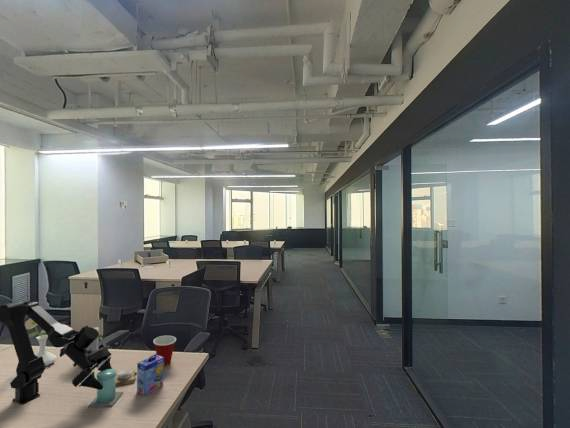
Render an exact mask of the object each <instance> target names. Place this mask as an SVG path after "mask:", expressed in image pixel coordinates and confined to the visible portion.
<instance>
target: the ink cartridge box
mask: <svg viewBox="0 0 570 428" xmlns="http://www.w3.org/2000/svg"><path fill="white" fill-rule="evenodd" d="M164 369H165V366H164V357H162V356H159V355H157V354H156V353H155V354H153V355H151V356H149V357H148V358H145V359H144V360H141V361H139V362H137V370H136V372H137V375H136V376H137V377H136V379H137V380H136V381H137V382H136V392H137V393H139V394H140V395H143V396H146V395H148V394H150V393H151V392H154V391H155V390H157V389H158V388H160V387H162V386H164V376H165V374H164V373H165V372H164V371H165V370H164Z"/></svg>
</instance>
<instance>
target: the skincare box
mask: <svg viewBox="0 0 570 428" xmlns="http://www.w3.org/2000/svg"><path fill="white" fill-rule="evenodd" d="M93 328H94V329H96V330H97V331H98V333H99V334H100V327H99V326H97V327H93ZM99 337H100V336H98V337H97V338H96V339H95V340H94V341H93V342H92V344H91V345H90V346H89V347H87V348H86V349H87V350H88V351H89V350H90V349H91V350H93V351H95V350H97V349H99Z"/></svg>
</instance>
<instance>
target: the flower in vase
mask: <svg viewBox="0 0 570 428" xmlns="http://www.w3.org/2000/svg"><path fill="white" fill-rule="evenodd" d="M24 324H25V327H26V330H31V329H32V330H33V328H35V331H34V332H31V333H29V334H28V336H29V338H33V337H35V336H36V335H37V334H38V336H37V337H35V339H36V340H37V341H38V343H39V351H38V353H36V354H35V355H36V356H37V357H41V356H42V357H43V362H44V364H45V366H44V367H46V366H48V365H51V364H53V363H54V362H56V360H57V359H58V358H57V356H56V355H55V354H54V353H51V352H49V351H47V348H46V344H47V339H48V335H47V333H46V332H45V331H44V330H43V329H42V330H41V331H40V333H39V331H38V328H37V326H38V325H37V324H36V323H35V322H34V321H33V320H32V319H31V318H30V317H29V318H28V320H26V321H24Z"/></svg>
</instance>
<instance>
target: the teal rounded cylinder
mask: <svg viewBox="0 0 570 428" xmlns="http://www.w3.org/2000/svg"><path fill="white" fill-rule="evenodd" d="M116 374H117V370H116V369H114V368H112V369H107V370H103V371H99V372H98V373H96V379H97V380H98V381H99V382H100V384H101V385H102V386H103V388H102V389H101V390H99V389H96V397H97V402H98V403H106V402H109V401H111V400H113V399H114V398H115V392H116V387H117V386H116Z"/></svg>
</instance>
